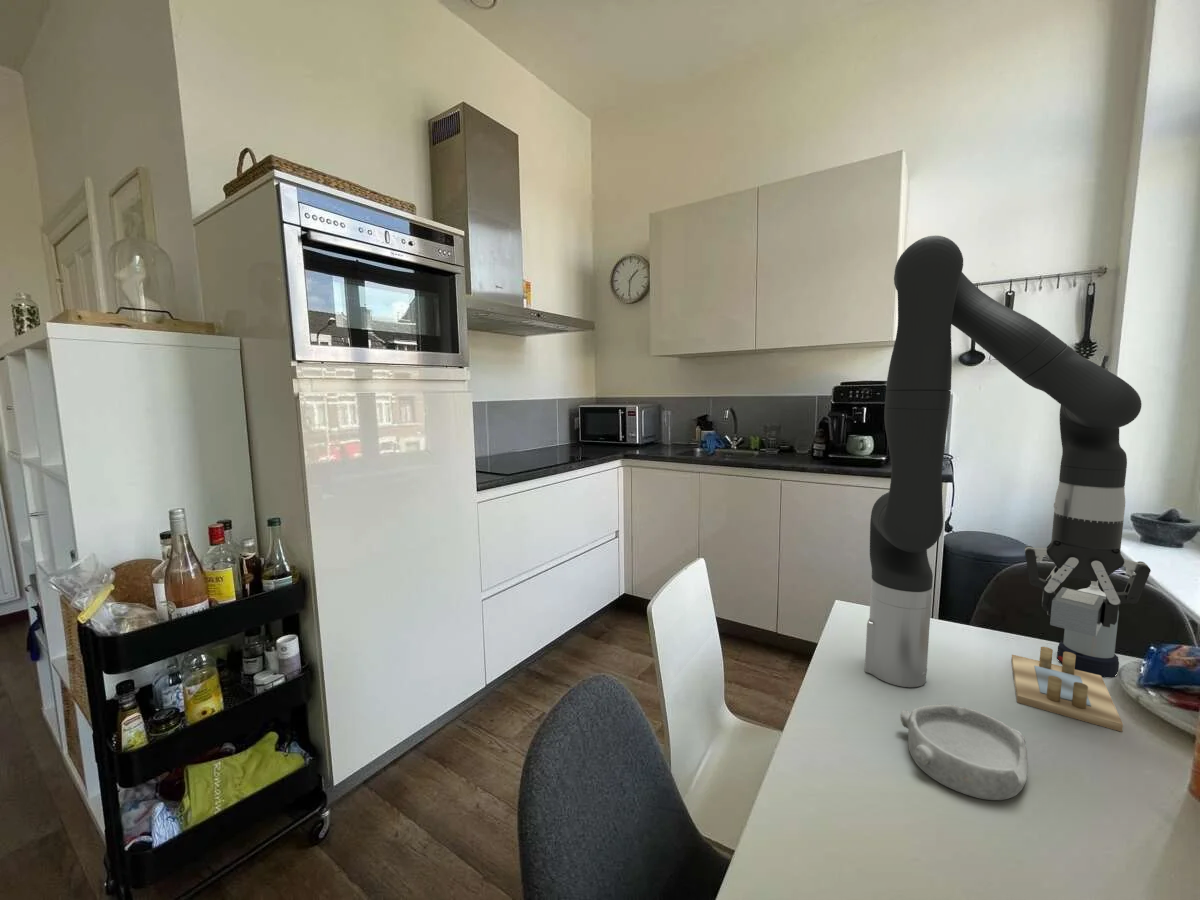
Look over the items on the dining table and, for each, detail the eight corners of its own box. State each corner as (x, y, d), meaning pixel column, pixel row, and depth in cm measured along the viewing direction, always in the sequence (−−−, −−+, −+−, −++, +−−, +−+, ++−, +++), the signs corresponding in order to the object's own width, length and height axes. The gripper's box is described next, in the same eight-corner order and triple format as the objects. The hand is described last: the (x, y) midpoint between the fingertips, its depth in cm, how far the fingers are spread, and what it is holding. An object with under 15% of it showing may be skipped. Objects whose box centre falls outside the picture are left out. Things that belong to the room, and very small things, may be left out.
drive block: (1049, 624, 76) (1052, 599, 75) (1060, 610, 81) (1062, 586, 80) (1095, 637, 72) (1098, 610, 71) (1103, 621, 77) (1106, 596, 76)
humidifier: (1051, 663, 92) (1063, 533, 89) (1062, 649, 97) (1074, 526, 94) (1113, 683, 85) (1128, 544, 83) (1121, 667, 90) (1136, 535, 88)
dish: (1018, 752, 69) (1020, 719, 69) (1044, 826, 58) (1048, 787, 57) (898, 719, 77) (900, 689, 76) (900, 778, 65) (902, 743, 64)
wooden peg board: (1122, 731, 73) (1125, 702, 73) (1017, 702, 80) (1019, 675, 80) (1100, 682, 86) (1103, 656, 85) (1011, 660, 93) (1013, 636, 92)
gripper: (1026, 511, 76) (1017, 615, 78) (1165, 526, 67) (1151, 643, 69) (1024, 503, 82) (1016, 600, 83) (1152, 515, 73) (1139, 624, 74)
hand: (1077, 619), depth 76 cm, fingers closed on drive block, 5 cm apart
